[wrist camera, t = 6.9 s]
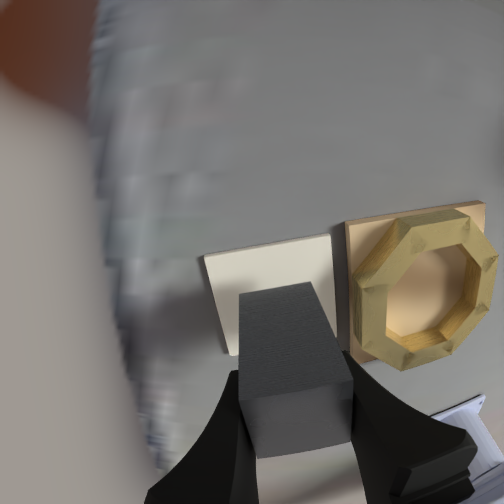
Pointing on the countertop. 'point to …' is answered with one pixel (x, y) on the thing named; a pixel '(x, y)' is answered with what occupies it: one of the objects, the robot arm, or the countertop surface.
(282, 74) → the countertop surface
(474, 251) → the collar
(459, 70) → the countertop surface
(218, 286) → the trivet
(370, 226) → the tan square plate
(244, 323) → the steel block
